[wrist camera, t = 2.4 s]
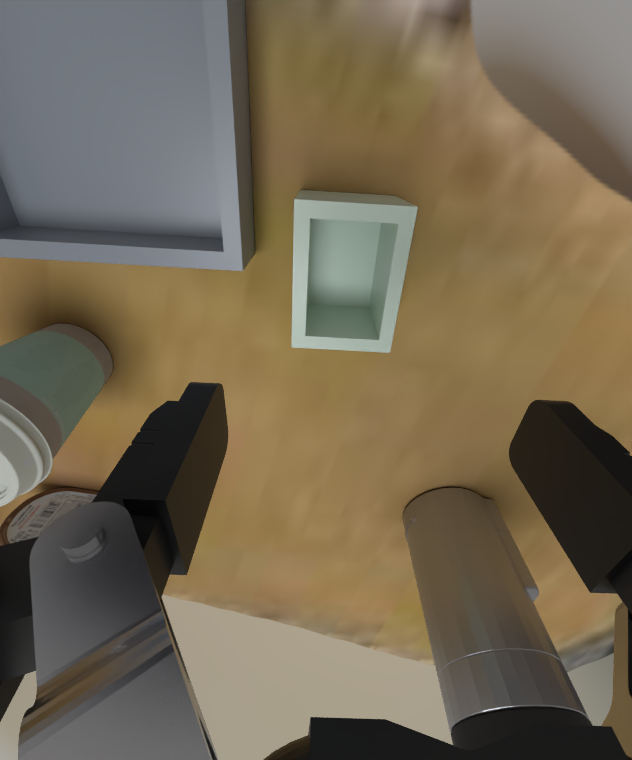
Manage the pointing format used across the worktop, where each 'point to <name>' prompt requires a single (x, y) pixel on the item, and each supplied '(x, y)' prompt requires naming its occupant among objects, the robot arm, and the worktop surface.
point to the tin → (42, 512)
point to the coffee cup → (44, 399)
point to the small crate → (348, 269)
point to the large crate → (126, 132)
